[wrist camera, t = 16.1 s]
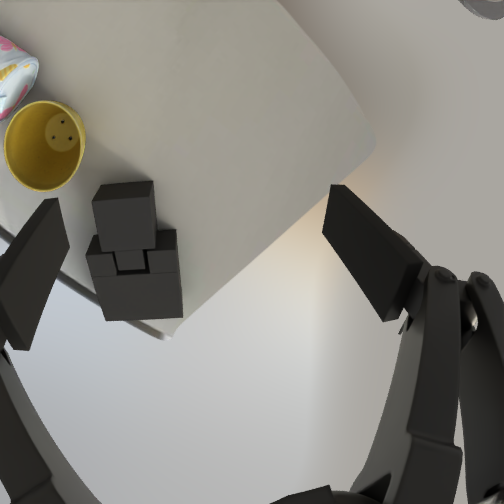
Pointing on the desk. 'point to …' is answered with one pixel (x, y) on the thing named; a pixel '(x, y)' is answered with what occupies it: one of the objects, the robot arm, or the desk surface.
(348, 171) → the desk surface
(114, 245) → the tab pad
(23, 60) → the pencil case
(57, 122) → the flower pot
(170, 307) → the notch pad
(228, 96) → the desk surface
